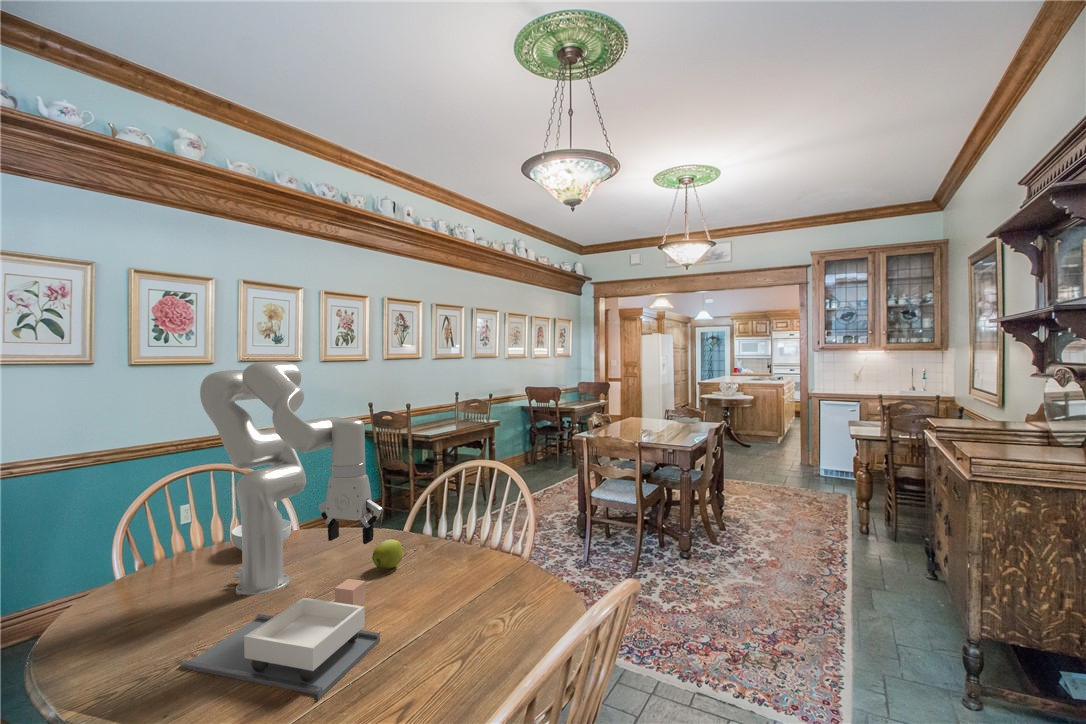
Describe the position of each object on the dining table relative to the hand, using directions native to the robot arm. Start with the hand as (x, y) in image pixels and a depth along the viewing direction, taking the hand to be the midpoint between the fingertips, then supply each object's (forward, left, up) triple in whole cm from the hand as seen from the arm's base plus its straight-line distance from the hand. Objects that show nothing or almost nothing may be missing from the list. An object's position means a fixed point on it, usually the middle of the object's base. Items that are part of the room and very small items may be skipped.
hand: (350, 540), depth 121 cm
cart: (+4, -20, -16) cm, 26 cm away
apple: (-4, +23, -17) cm, 29 cm away
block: (0, 0, -17) cm, 17 cm away
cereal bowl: (-52, +26, -17) cm, 61 cm away
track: (-1, -20, -17) cm, 26 cm away
